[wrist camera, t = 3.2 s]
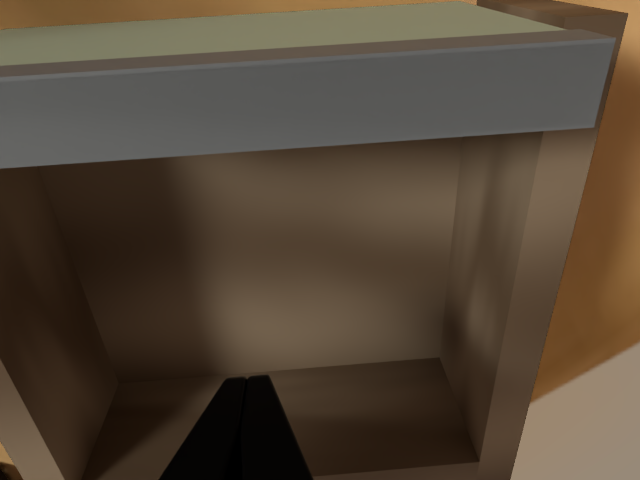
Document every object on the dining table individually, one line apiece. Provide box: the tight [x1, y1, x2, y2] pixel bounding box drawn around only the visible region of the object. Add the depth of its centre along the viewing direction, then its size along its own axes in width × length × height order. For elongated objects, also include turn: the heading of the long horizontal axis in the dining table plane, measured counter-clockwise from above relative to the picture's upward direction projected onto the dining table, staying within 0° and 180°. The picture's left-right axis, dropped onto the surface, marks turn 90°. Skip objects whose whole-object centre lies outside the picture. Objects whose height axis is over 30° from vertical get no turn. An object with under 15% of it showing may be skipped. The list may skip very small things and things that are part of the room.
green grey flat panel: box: [0, 1, 616, 169], centre depth 8 cm, size 1×10×6 cm, turn 93°
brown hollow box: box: [0, 0, 628, 480], centre depth 13 cm, size 12×13×5 cm
